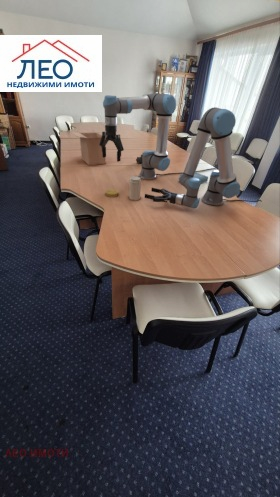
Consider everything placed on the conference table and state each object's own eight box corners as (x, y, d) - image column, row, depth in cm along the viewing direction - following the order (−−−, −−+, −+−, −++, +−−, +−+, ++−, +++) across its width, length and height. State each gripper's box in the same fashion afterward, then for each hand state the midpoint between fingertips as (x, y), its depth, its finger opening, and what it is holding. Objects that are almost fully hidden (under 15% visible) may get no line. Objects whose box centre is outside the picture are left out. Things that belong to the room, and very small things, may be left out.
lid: (120, 194, 169) (120, 192, 168) (111, 197, 164) (111, 195, 163) (112, 191, 174) (112, 188, 173) (103, 194, 169) (103, 191, 168)
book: (192, 177, 214) (193, 171, 211) (207, 182, 205) (208, 176, 202) (178, 181, 200) (179, 176, 197) (193, 187, 192) (194, 181, 189)
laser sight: (155, 166, 235) (156, 156, 229) (135, 163, 238) (135, 154, 232) (156, 163, 243) (157, 154, 237) (137, 161, 246) (137, 151, 240)
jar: (127, 199, 164) (128, 179, 155) (130, 195, 170) (131, 175, 161) (138, 201, 162) (139, 180, 153) (141, 196, 169) (142, 177, 160)
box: (116, 165, 229) (116, 136, 213) (83, 168, 214) (80, 137, 198) (102, 154, 259) (101, 128, 243) (71, 156, 244) (68, 129, 228)
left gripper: (93, 122, 144) (94, 156, 157) (121, 128, 133) (121, 164, 146) (101, 121, 149) (102, 154, 162) (129, 127, 138) (128, 162, 151)
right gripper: (170, 210, 146) (141, 203, 152) (180, 197, 165) (153, 191, 171) (172, 200, 142) (142, 193, 148) (182, 187, 161) (154, 182, 167)
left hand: (111, 159), depth 154 cm, fingers open, 13 cm apart
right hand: (148, 192), depth 159 cm, fingers open, 13 cm apart
